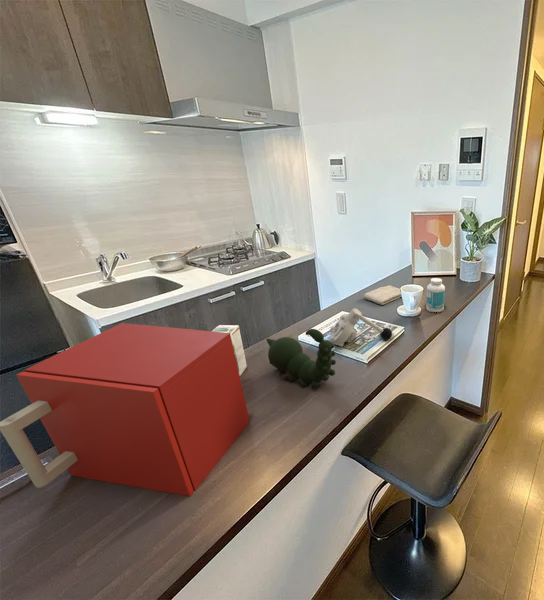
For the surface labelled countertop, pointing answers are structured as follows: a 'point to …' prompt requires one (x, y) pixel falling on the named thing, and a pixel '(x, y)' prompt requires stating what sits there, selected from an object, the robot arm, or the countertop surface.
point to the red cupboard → (169, 382)
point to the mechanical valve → (346, 328)
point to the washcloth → (383, 295)
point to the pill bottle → (435, 295)
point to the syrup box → (235, 344)
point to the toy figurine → (302, 359)
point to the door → (98, 433)
